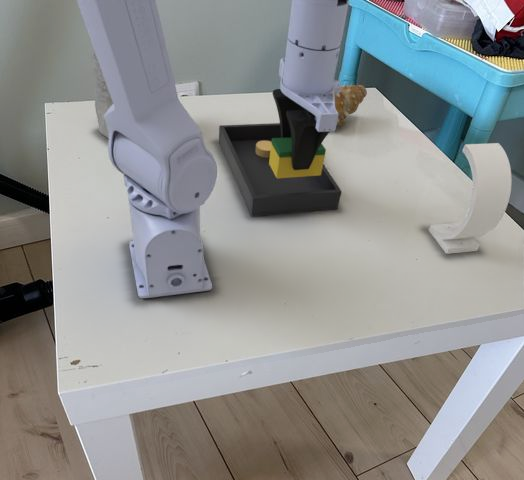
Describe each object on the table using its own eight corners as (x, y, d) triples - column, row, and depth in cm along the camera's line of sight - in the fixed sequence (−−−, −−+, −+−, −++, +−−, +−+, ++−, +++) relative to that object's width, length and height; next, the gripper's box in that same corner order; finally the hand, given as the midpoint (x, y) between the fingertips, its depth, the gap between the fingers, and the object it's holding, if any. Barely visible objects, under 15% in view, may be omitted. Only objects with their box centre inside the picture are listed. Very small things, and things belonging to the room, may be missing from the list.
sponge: (311, 161, 66) (316, 135, 64) (321, 175, 64) (326, 149, 62) (268, 163, 65) (271, 137, 62) (276, 178, 63) (279, 152, 60)
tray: (337, 209, 68) (341, 191, 66) (251, 216, 65) (253, 198, 63) (293, 139, 80) (296, 122, 77) (218, 142, 76) (219, 125, 74)
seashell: (313, 124, 90) (349, 72, 85) (341, 152, 87) (379, 100, 82) (283, 110, 83) (319, 52, 78) (311, 140, 80) (352, 82, 75)
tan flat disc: (277, 157, 74) (278, 149, 73) (258, 158, 74) (259, 151, 73) (272, 147, 76) (272, 139, 75) (253, 148, 75) (253, 140, 74)
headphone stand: (458, 227, 68) (498, 143, 59) (481, 256, 64) (528, 170, 55) (428, 230, 67) (464, 144, 58) (449, 259, 63) (492, 172, 54)
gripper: (376, 68, 50) (345, 189, 60) (325, 17, 58) (306, 130, 69) (309, 69, 48) (290, 193, 58) (267, 16, 57) (257, 132, 67)
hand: (295, 159), depth 63 cm, fingers closed on sponge, 3 cm apart
